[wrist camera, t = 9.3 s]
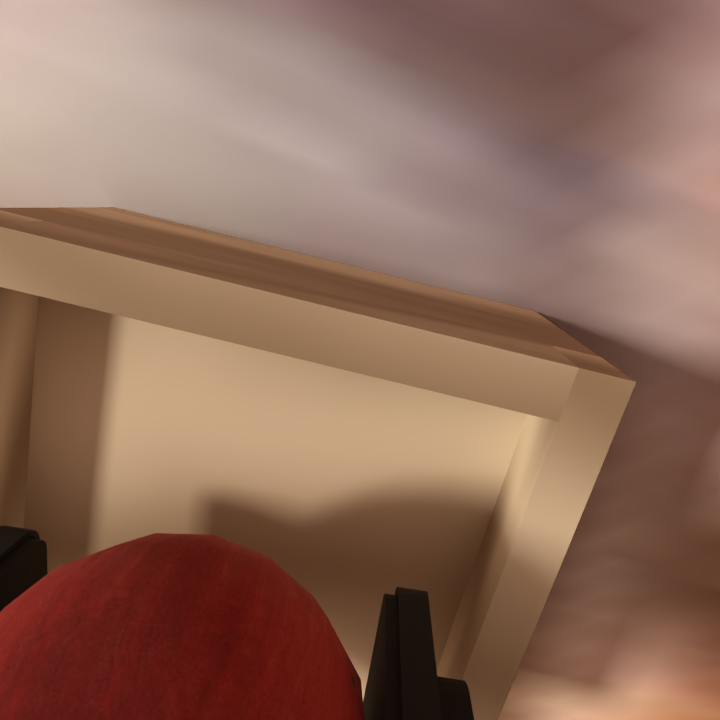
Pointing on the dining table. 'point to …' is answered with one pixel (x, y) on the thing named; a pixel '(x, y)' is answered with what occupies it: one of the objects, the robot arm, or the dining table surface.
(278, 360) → the beige square hollow tray
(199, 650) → the onion
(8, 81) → the dining table surface
